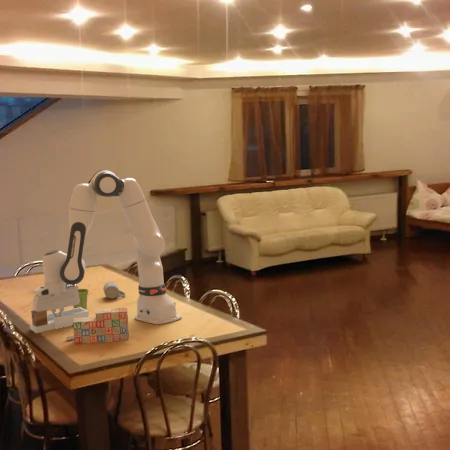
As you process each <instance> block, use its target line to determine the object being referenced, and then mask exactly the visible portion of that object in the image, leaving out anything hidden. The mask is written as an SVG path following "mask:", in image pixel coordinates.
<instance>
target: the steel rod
mask: <svg viewBox="0 0 450 450" xmlns="http://www.w3.org/2000/svg"><path fill="white" fill-rule="evenodd" d="M65 338H66V341H67V340H68V341H67V342H70V341H69V340H71V341H74V340H73V339H74V335H70V336H67V337H65Z"/></svg>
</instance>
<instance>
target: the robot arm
mask: <svg viewBox="0 0 450 450" xmlns="http://www.w3.org/2000/svg"><path fill="white" fill-rule="evenodd" d="M100 197H106V198H109V197H110V198H111V197H117V199H118V201H119V203H120V204H119V205H120V206H121V208H122V211H123V214H124V217H125V220H126V222H127V224H128V226H129V228H130V230H131V232H132V233H133V237H132V241H133V247H134V256H135V259H136V264H137V272H138V273H137V274H138V286H137V287H138V288H137V290H138V295H139V296H138V299H136V315H135V316H134V320H137V321H142V322H144V323H149V324H153V325H162V324H167V323H172V322H176V321H179V320H181V319H182V315H181V314H179V313H178V312H177V310H176V302H175V301H173V300H172V298H171V297H170V296H169V295H168V294H167V291H168V290H167V287H166V284H165V283H164V267H163V266H164V265H163V264H162V260H161V255H162V254H163V253H164V252H165V250H166V241H165V239H164V237H163V235H162V233H161V231H160V229H159V227H158V224H157V223H156V221H155V219H154V217H153V215H152V213H151V209H150V207H149V204H148V202H147V200H146V197H145V194H144V192H143V190H142V188H141V185H139V182H138V181H137V180H136V179H135V178H133V177H126V178H123V179H121V178H120V177H118V176H117V175H116V173H114V172H113V171H111V170H107V169H101V170H97V171H96V172H95V173H94V174H93V175H92V177H91V178H90V180H88V182H87V183H78V184H77V185H75V186H74V187H73V191H72V194H71V198H70V201H69V206H68V207H69V208H68V229H69V230H68V231H69V232H68V233H69V237H68V238H69V239H68V245H67V246H68V247H67V252H63V251H62V250H59V249H54V250H51V251H48V252H46V253H44V255H43V256H42V272H43V276H44V279H43V280H44V281H43V282H44V283H43V284H42V285H40V286H38V287H36V288H34V289H33V293H34V295H33V298H32V307H33V308H32V309H33V310H34V311H35V312H41V311H47V312H49V311H50V312H51V313H53V314H54V318H55V317H60V316H62V313H63V311H65V308H69V307H72V306H73V305H77V304H79V303H80V298H79V294H78V289H79V286H78V284H80V283H81V282H82V280H83V279H84V277H85V272H86V269H87V264H86V261H85V260H84V259H83V253H84V246H85V241H86V238H87V235H88V233H89V232H90V229H91V228H92V224H93V222H94V219H95V215H96V207H97V203H98V200H99V199H100ZM65 283H67V284H69V285H66V284H65ZM57 310H59V311H58V312H59V314H56V313H55V312H57Z"/></svg>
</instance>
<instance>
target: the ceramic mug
mask: <svg viewBox="0 0 450 450" xmlns="http://www.w3.org/2000/svg"><path fill="white" fill-rule="evenodd" d="M103 292H104V296H105V297H106V298H107V299H109V300H114V299H117V298H118V297H120V298H125V297H126V293H125V292H124V291H122V290H120V289H119V286H118V283H116V282H114V281H108V282H106V283H105V284H104V285H103Z"/></svg>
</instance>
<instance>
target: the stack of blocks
mask: <svg viewBox="0 0 450 450" xmlns="http://www.w3.org/2000/svg"><path fill="white" fill-rule="evenodd" d="M72 329H73V336H74V340H73V341H74V342H73V343H74V345H81V344H80V343H87V344H97V343H96V342H100V343H110V342H111V343H112V342H124V341H125V342H126V341H129V337H130V334H129V316H128V307H110V308H99V309H98V308H97V309H96V311H95V316H89V317H84V318H75V319H74V321H73V326H72Z"/></svg>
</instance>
